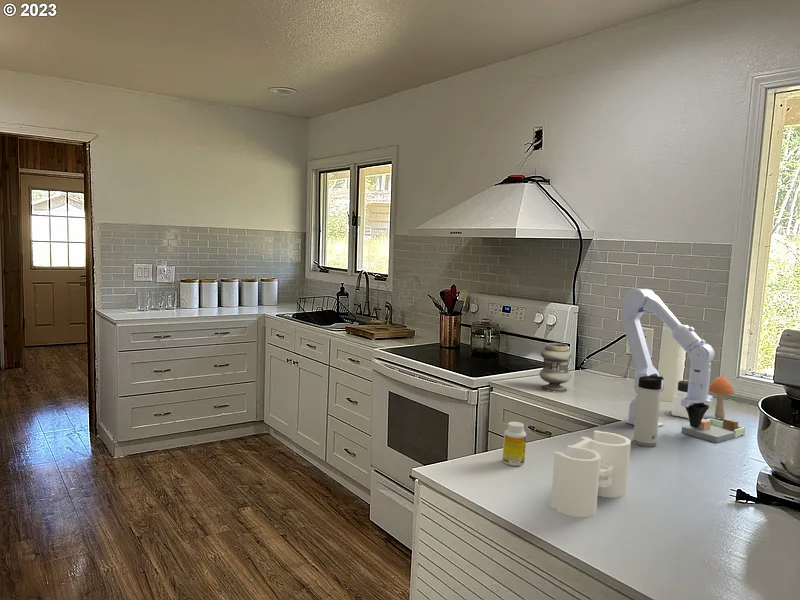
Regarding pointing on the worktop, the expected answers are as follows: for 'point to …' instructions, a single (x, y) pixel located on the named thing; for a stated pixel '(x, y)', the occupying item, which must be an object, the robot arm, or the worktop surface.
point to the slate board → (709, 433)
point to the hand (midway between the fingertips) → (694, 426)
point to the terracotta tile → (704, 425)
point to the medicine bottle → (676, 405)
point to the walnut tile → (730, 424)
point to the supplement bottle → (514, 444)
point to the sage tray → (719, 424)
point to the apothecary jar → (555, 366)
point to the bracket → (590, 473)
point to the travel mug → (647, 410)
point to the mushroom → (720, 393)
